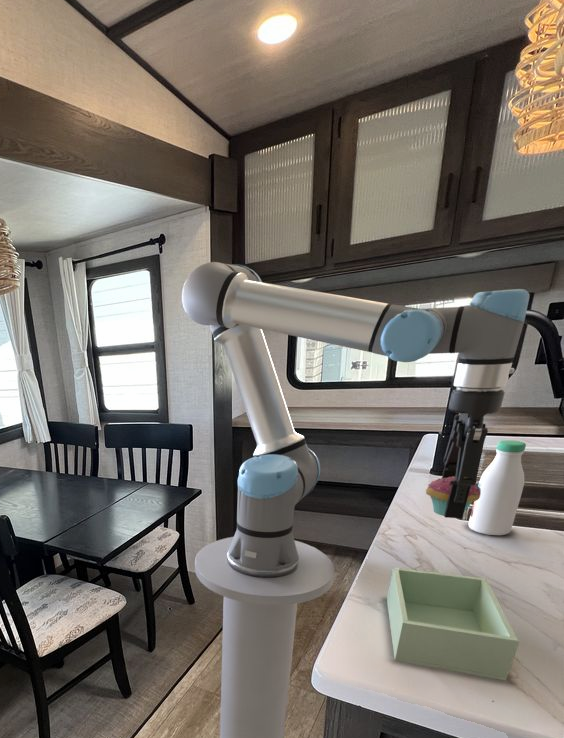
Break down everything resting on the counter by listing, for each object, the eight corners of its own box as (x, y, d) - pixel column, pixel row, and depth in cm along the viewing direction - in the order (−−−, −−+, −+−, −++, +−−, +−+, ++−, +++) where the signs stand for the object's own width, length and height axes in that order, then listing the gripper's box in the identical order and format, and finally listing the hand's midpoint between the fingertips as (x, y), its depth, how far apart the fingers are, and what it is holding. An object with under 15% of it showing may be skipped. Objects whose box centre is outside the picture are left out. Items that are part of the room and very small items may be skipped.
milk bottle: (519, 534, 103) (546, 444, 95) (485, 537, 102) (510, 448, 94) (491, 521, 110) (514, 436, 102) (459, 524, 109) (480, 440, 101)
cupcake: (461, 505, 94) (476, 447, 90) (484, 521, 87) (502, 458, 82) (415, 505, 96) (427, 447, 91) (433, 521, 88) (447, 459, 83)
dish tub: (386, 600, 83) (392, 567, 80) (476, 612, 78) (486, 578, 75) (394, 660, 69) (402, 622, 66) (505, 681, 63) (519, 641, 61)
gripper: (524, 397, 72) (485, 532, 81) (489, 381, 89) (461, 493, 98) (465, 397, 75) (434, 527, 84) (443, 381, 92) (419, 490, 101)
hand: (448, 508), depth 91 cm, fingers closed on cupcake, 8 cm apart
